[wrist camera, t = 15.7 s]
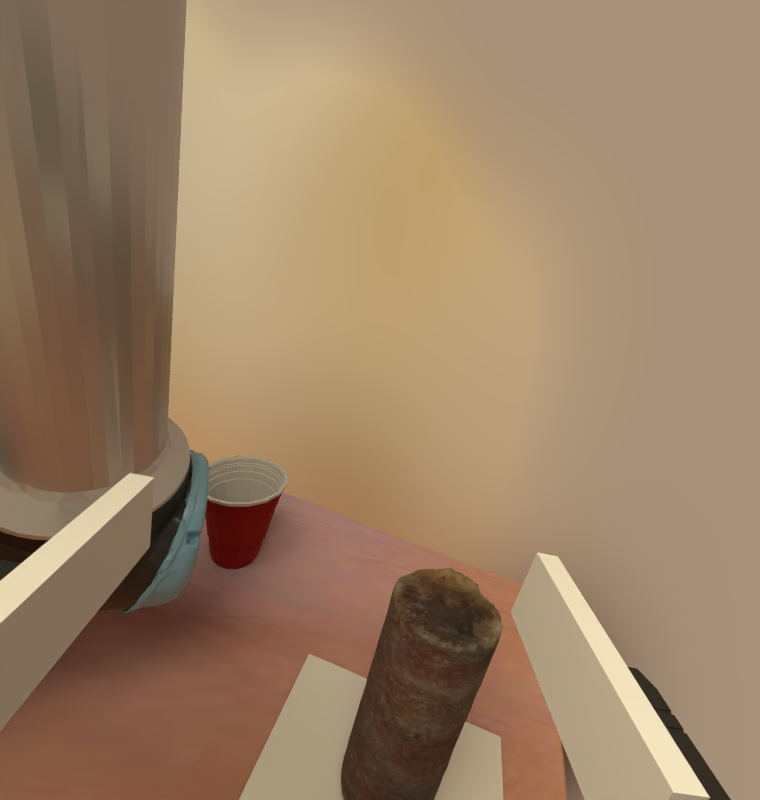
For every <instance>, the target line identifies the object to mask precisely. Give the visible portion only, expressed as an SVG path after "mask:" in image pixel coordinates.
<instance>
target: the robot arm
mask: <svg viewBox="0 0 760 800" xmlns="http://www.w3.org/2000/svg"><path fill="white" fill-rule="evenodd" d="M185 20H186V0H0V731H1V730H2V729H3V728H4V726H5V725H6V724H7V723H8V721H9V720H10V719H11V718H12V716H13V715H14V714H15V713H16V711H17V710H18V709H19V708H20V707H21V705H22V704H23V703H24V702H25V700H26V699H27V698H28V697H29V695H30V694H31V693H32V692H33V690H34V689H35V688H36V687H37V686H38V684H39V683H40V682H41V681H42V679H43V678H44V677H45V676H46V674H47V673H48V672H49V671H50V669H51V668H52V667H53V666H54V665H55V663H56V662H57V661H58V660H59V658H60V657H61V656H62V655H63V653H64V652H65V651H66V650H67V649H68V647H69V646H70V645H71V644H72V642H73V641H74V640H75V639H76V637H77V636H78V635H79V634H80V632H81V631H82V630H83V629H84V628H85V626H86V625H87V624H88V623H89V621H90V620H91V619H92V618H93V616H94V615H95V614H99V613H108V612H117V613H120V614H126V613H131V612H132V611H135V610H136V609H139V608H144V607H150V606H156V605H162V604H166V603H168V602H170V601H172V600H174V599H175V598H177V597H178V596H179V595H180V594H181V593H182V591H183V590H184V589H185V587H186V585H187V584H188V582H189V579H190V577H191V574H192V571H193V568H194V565H195V562H196V558H197V554H198V549H199V545H200V533H201V531H202V527H203V524H204V520H205V514H206V507H207V499H208V489H209V464H208V460H207V459H206V457H205V456H204V455H203V454H201V453H196V452H194V451H192V450H189V445H188V442H187V439H186V437H185V435H184V433H183V432H182V430H181V429H180V428H179V427H178V426H177V425H176V424H175V423H174V422H173V421H172V420H171V419H169V418H168V403H169V380H170V359H171V335H172V313H173V292H174V267H175V247H176V224H177V223H176V222H177V202H178V179H179V157H180V134H181V133H180V132H181V112H182V90H183V68H184V45H185V23H186V21H185ZM511 614H512V616H513V619H514V621H515V624H516V627H517V629H518V632H519V634H520V637H521V639H522V642H523V644H524V647H525V649H526V652H527V655H528V657H529V660H530V662H531V665H532V667H533V670H534V672H535V675H536V677H537V680H538V682H539V685H540V688H541V690H542V693H543V695H544V698H545V700H546V703H547V705H548V708H549V710H550V713H551V716H552V718H553V721H554V723H555V726H556V728H557V731H558V733H559V736H560V738H561V741H562V743H563V746H564V749H565V751H566V753H567V756H568V759H569V761H570V764H571V766H572V769H573V771H574V774H575V776H576V779H577V781H578V784H579V787H580V789H581V792H582V794H583V797H584V799H585V800H730V798H729V797H728V795H727V794H726V792H725V791H724V789H723V788H722V786H721V785H720V783H719V782H718V780H717V779H716V777H715V776H714V774H713V773H712V771H711V770H710V768H709V767H708V765H707V764H706V762H705V761H704V759H703V758H702V756H701V755H700V753H699V752H698V750H697V749H696V747H695V746H694V744H693V743H692V741H691V740H690V738H689V737H688V735H687V734H685V733H684V732H683V728H682V726H681V725H680V723H679V722H678V720H677V719H676V717H675V716H674V715H672V714H671V710H670V709H669V707H668V705H667V704H666V702H665V701H664V699H663V698H662V697H661V695H660V693H659V692H658V690H657V689H656V688H655V687H654V686H653V685H652V684H651V683H650V682H649V681H648V679H646V677H645V676H644V675H643V674H642V673H641V672H640V671H639V670H638V669H636V668H630V667H627V666H626V664H625V662H624V661H623V660H622V658H621V656H620V655H619V653H618V651H617V650H616V648H615V647H614V645H613V643H612V642H611V640H610V639H609V637H608V636H607V634H606V632H605V631H604V629H603V628H602V626H601V625H600V623H599V621H598V620H597V618H596V617H595V615H594V613H593V612H592V610H591V609H590V607H589V605H588V604H587V602H586V601H585V599H584V598H583V596H582V594H581V593H580V591H579V590H578V588H577V586H576V585H575V583H574V582H573V580H572V579H571V577H570V575H569V574H568V572H567V571H566V569H565V567H564V566H563V564H562V563H561V561H560V560H559V558H558V557H557V556H552V555H547V554H542V553H537V554H536V556H535V559H534V561H533V563H532V566H531V568H530V570H529V572H528V575H527V577H526V579H525V581H524V584H523V586H522V588H521V590H520V593H519V595H518V597H517V599H516V602H515V604H514V606H513V608H512V611H511Z"/></svg>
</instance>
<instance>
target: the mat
mask: <svg viewBox="0 0 760 800" xmlns="http://www.w3.org/2000/svg"><path fill="white" fill-rule="evenodd" d="M366 681H367V678H364V677H362V676H360V675H357V674H355V673H353V672H350V671H348V670H346V669H344V668H341V667H339V666H337V665H334V664H332V663H330V662H328V661H325V660H323V659H321V658H318V657H316V656H314V655H311V654H309V655H308V657H307V659H306V661H305V663H304V665H303V667H302V669H301V671H300V673H299V675H298V678H297V680H296V682H295V684H294V686H293V688H292V690H291V692H290V694H289V696H288V698H287V701H286V703H285V705H284V707H283V709H282V711H281V713H280V715H279V717H278V719H277V721H276V723H275V726H274V728H273V730H272V732H271V734H270V736H269V738H268V740H267V742H266V744H265V746H264V748H263V751H262V753H261V755H260V757H259V759H258V761H257V763H256V765H255V767H254V769H253V771H252V773H251V776H250V778H249V780H248V782H247V784H246V786H245V788H244V790H243V792H242V794H241V796H240V798H239V800H344V798H343V795H342V787H341V770H342V763H343V759H344V755H345V751H346V749H347V745H348V741H349V737H350V734H351V731H352V727H353V724H354V721H355V717H356V714H357V711H358V708H359V704H360V701H361V698H362V695H363V691H364V688H365V685H366ZM434 800H503V779H502V756H501V737H500V736H497V735H495V734H493V733H491V732H488V731H486V730H484V729H481V728H479V727H477V726H475V725H472V724H470V723H468V722H465V723H464V726H463V728H462V731H461V733H460V736H459V738H458V740H457V742H456V745H455V747H454V750H453V752H452V755H451V758H450V761H449V764H448V767H447V769H446V771H445V773H444V776H443V778H442V781H441V784H440V786H439V789H438V791H437V794H436V796H435V798H434Z"/></svg>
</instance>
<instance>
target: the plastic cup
mask: <svg viewBox="0 0 760 800" xmlns="http://www.w3.org/2000/svg"><path fill="white" fill-rule="evenodd" d="M287 484H288V474H287V473H286V471H285V470H284V469H283V467H282V466H281V465H279V464H277V463H275V462H273V461H271V460H269V459H265V458H260V457H256V456H235V457H228V458H222V459H220V460H217V461H215V462H212V463H209V489H208V499H207V507H206V514H205V516H206V525H207V533H208V537H209V546H210V553H211V556H212V559H213V561H214V562H215V563H216V564H217V565H219V566H221V567H224V568H232V569H237V568H241V567H244V566H246V565H248V564H250V563H251V562H252V561H253V560H254V558H255V557H256V555H257V554H258V552H259V549H260V546H261V544H262V541H263V539H264V537H265V535H266V532H267V529H268V527H269V524H270V521H271V518H272V516H273V513H274V510H275V507H276V505H277V504H278V501H279V498H280V496H281V493H282V492H283V490H284V489H285V488H286V486H287Z"/></svg>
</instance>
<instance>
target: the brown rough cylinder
mask: <svg viewBox="0 0 760 800" xmlns="http://www.w3.org/2000/svg"><path fill="white" fill-rule="evenodd" d="M501 630H502V623H501V618H500V614H499V612H498V611H497V609H496V608H495V606H494V604H492V603H491V602H489V601H488V600H487V599H486V598H485V597H484V596H483V595H482V594H481V593H480V591H479V588H478V585H477V584H476V583H474V582H473V581H472V580H471V579H470V578H469V577H467V576H465V575H463V574H461V573H458V572H456V571H454V570H453V569H451V568H447V569H438V570H435V569H424V570H417V571H416V572H414V573H411V574H409V575H405V576H403V577H401V578H399V579H398V581H397V583H396V584H395V586H394V589H393V593H392V596H391V600H390V604H389V608H388V612H387V616H386V619H385V622H384V625H383V628H382V631H381V634H380V638H379V641H378V645H377V648H376V652H375V655H374V658H373V661H372V665H371V668H370V672H369V674H368V678H367V681H366V685H365V688H364V691H363V695H362V698H361V701H360V704H359V708H358V711H357V714H356V717H355V721H354V724H353V727H352V731H351V734H350V737H349V741H348V745H347V749H346V751H345V755H344V759H343V763H342V770H341V787H342V795H343V798H344V800H434V798H435V796H436V794H437V791H438V789H439V786H440V784H441V781H442V778H443V776H444V773H445V771H446V769H447V767H448V764H449V761H450V758H451V755H452V752H453V750H454V747H455V745H456V742H457V740H458V738H459V736H460V733H461V731H462V728H463V726H464V723H465V721H466V719H467V716H468V714H469V711H470V709H471V707H472V704H473V701H474V699H475V696H476V693H477V691H478V689H479V688H480V686H481V683H482V680H483V678H484V676H485V673H486V671H487V668H488V666H489V663H490V661H491V658H492V656H493V654H494V651H495V649H496V647H497V644H498V641H499V638H500V635H501Z"/></svg>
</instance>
